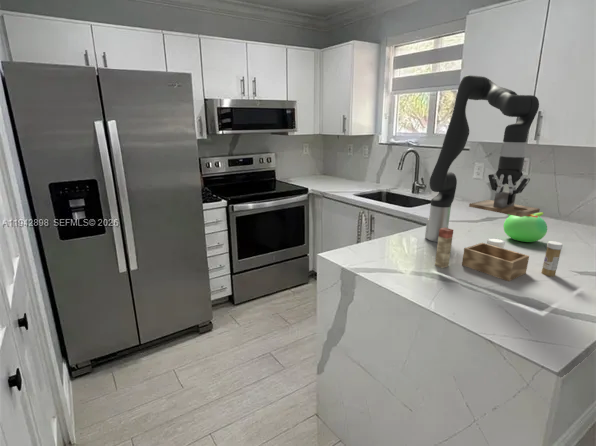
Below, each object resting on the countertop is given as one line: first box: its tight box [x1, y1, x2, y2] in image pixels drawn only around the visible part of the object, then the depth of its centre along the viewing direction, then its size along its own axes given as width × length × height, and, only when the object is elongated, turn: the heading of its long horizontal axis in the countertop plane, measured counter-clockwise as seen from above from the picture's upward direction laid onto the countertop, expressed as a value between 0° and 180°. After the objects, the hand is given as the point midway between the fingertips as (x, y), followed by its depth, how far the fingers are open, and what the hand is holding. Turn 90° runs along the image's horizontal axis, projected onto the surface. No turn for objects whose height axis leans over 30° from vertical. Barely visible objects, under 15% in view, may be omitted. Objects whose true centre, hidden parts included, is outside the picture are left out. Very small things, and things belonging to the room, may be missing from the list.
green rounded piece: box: [503, 211, 548, 243], centre depth 172 cm, size 18×17×15 cm
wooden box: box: [461, 242, 530, 282], centre depth 136 cm, size 18×13×8 cm
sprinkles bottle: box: [541, 240, 563, 277], centre depth 131 cm, size 5×5×14 cm
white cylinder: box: [486, 237, 506, 249], centre depth 153 cm, size 7×7×7 cm
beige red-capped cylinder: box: [434, 227, 454, 269], centre depth 137 cm, size 4×4×16 cm
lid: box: [468, 190, 541, 217], centre depth 128 cm, size 18×13×6 cm
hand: (504, 203), depth 128 cm, fingers closed on lid, 3 cm apart
